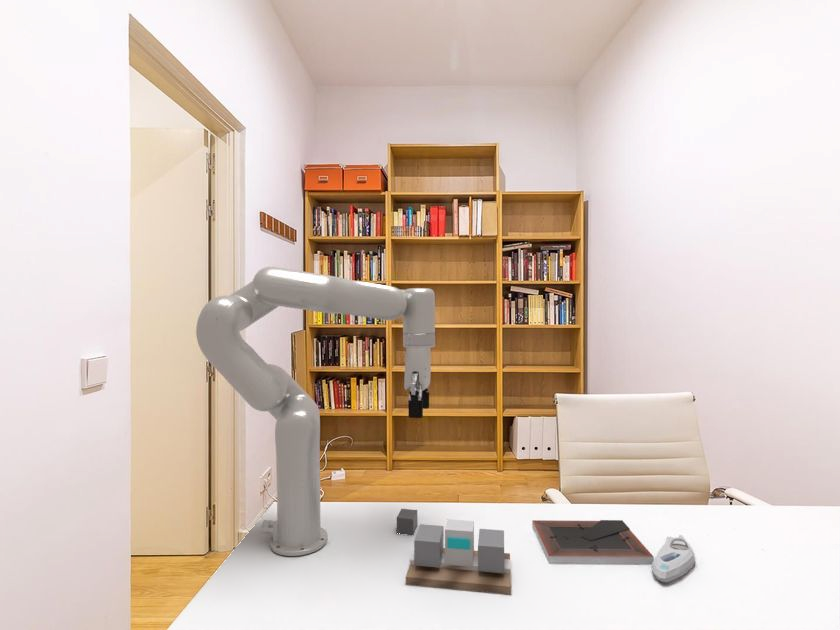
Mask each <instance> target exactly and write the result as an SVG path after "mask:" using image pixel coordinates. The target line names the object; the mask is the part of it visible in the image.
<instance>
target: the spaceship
mask: <svg viewBox="0 0 840 630" xmlns="http://www.w3.org/2000/svg"><path fill="white" fill-rule="evenodd" d="M695 559H696V558H695V553H694V551H693V548H692V546H691V545H690V543H688V540H687V539H686V538H685V536H683V535H682V534H679V536H678V537H672V536H667V537H666V538H665V542H664V544H663V545H662V547H660V549H659V550H658V552H657V554H656V556H655V557H654V560H653V562H652V565H650V568H651V570H652V573H653V574H654V576H655V578H656V579H657V580H659V581H660V582H662V583H669V582H671V581H674V580H676V579H678V578H680V577H682V576H683V575H685V574H686V573H688V571H690V569H691V568H692V567H693V566H694V565H695Z"/></svg>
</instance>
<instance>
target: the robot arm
mask: <svg viewBox="0 0 840 630" xmlns="http://www.w3.org/2000/svg"><path fill="white" fill-rule="evenodd" d="M435 296H436V294H435V292H434V290H433V289H432V288H428V287H427V288H426V287H422V288H421V287H415V288H414V287H412V288H411V287H410V288H406V289H400V288H398V287H395V286H393V285H391V286H390V285H387V284H386V285H385V284H378V283H373V282H365V281H360V280H353V279H347V278H342V277H338V276H334V275H329V274H321V273H315V272H308V271H302V270H297V269H291V268H289V269H288V268H285V267H277V266H266V267H263V268H261V269H260V270H258V271H257V272H256V273H255V275H254V277H253V279H252V281H250V282H249V283H247V284H246V285H244V286H243V287H241V288H239V289H238V290H236V291H234V292H233V293H231V294H230V295H221V296H220V295H218V296H217V297H214V298H212V299H210V300H208V302H207V303H206V304H205V305H204V306H203V308H202V309H201V311H200V313H199V315H198V318H197V322H196V329H195V335H196V341H197V344H198V347H199V348H200V349H199V350H200V351H201V352H202V354H203V356H204V357H205V359H206V360H207V361H208V362H209V363H210V365H211V366H213V367H214V369H215V370H216V371H218V373H219V374H220V375H221V376H222V377H223V378H224V379H225V380H226V381H227V383H228V384H229V385H230V386H231V387H232V388H233V389H234V390H235V391H236V392H237V393H238V395H240V396H241V398H243V400H244V401H245V402H246V403H247V405H249V406H250V407H251V408H252V409H254V410H256V411H259V412H268V413H269V414H270V415H271V416H272V418H274V419H275V420H276V422H275V428H274V443H275V458H276V459H275V460H276V462H275V465H276V466H275V467H276V520H270V519H264V520H263V521H262V523H261V532H262V534H267V535H268V534H271V535H272V537H271V539H270V540H269V543H270V544H269V545H270V550H272V552H274V553H275V554H277V555H281V556H285V557H287V556H288V557H298V556H304V555H305V556H306V555H308V554H309V555H310V554H312V553H314V552H316V551H318V550H321V549H322V548H323V547H324V546H325V545H326V544H327V542H328V536H329V535H328V532H327V531H326V529H324V528H323V527H321V462H320V461H321V449H320V448H321V442H320V441H321V418H320V417H321V415H320V414H321V413H320V409H319V407H318V405H317V403H316V402H315V400H313V398H312V397H311V396H310V395H309V393H307V392H306V391H305V390H304V389H303V388H302V386H301V385H300V384H298V382H297V381H296V380H295V379H294V378H293V377H292V376H291V375H290V374H289V373H288V372H287V371H286V370H285V369H283V368H282V367H280V366H279V365H276V364H273V363H272V364H270V363H269V364H268V363H267V362H266V361H265V360H264V359H263V358H262V357H261V356H260V355H259V354H258V353H257V352H256V350H255V349H254V348H253V347H252V346H251V345H250V344H248V343H247V342H246V341H245V340H244V339H243V336H242V334H241V331H243V330H245V329H247V328H248V327H250V326H251V325H253V324H254V323H256V322H257V321H259V320H260V319H262V318H263V317H265V316H266V315H269V314H270V313H271V312H273V311H274V310H275V309H277V308H278V307H282V308H283V307H284V308H289V309H297V310H303V311H311V312H318V313H325V314H338V315H339V314H341V315H349V316H356V317H362V318H363V317H364V318H369V319H370V318H371V319H377V320H384V321H395V320H397V319H399V318H402V336H403V337H402V343H403V344H402V346H403V348H405V349H406V350H405V357H404V359H405V360H404V383H403V385H404V387H403V388H404V389H405V391H408V399H407V400H408V401H407V402H408V404H407V405H408V406H407V407H408V414H407V415H408V418H410V419H423V417H424V415H423V414H424V413H423V412H424V410H425V409H427V410H428V409H429V408H430V392H429V391H430V390H429V389H430V388H429V387H430V384H431V377H432V376H431V375H432V374H431V370H432V369H431V368H432V367H431V365H432V363H431V361H432V360H431V355H432V354H431V348H435V347H436V333H435V332H436V319H435V318H436V299H435V298H436V297H435Z"/></svg>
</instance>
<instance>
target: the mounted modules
mask: <svg viewBox="0 0 840 630" xmlns="http://www.w3.org/2000/svg"><path fill="white" fill-rule="evenodd" d="M416 531H417V532H416V533H415V536H414V540H413V551H414V565H416V566H427V567H440V563H441V559H442V554H443V550H444V548H445V528H444V525H436V524H423V523H422V524H421V523H420V524H419V527H418V529H417V530H416ZM478 532H479V533H478V541H477V551H478V571H483V572H494V573H504V553H505V530H503V529H487V528H479V531H478Z"/></svg>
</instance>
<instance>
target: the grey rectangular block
mask: <svg viewBox="0 0 840 630" xmlns="http://www.w3.org/2000/svg"><path fill="white" fill-rule="evenodd" d="M417 528H418V509H408V508H401V509H400V510H399V512H398V514H397V516H396V534H397V533H398V534H397V535H401V534H407V535H406V536H412V535H413V536H414V535H415V534H416V533H415V532H416V531H417ZM415 530H416V531H415ZM399 533H400V534H399Z"/></svg>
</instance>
